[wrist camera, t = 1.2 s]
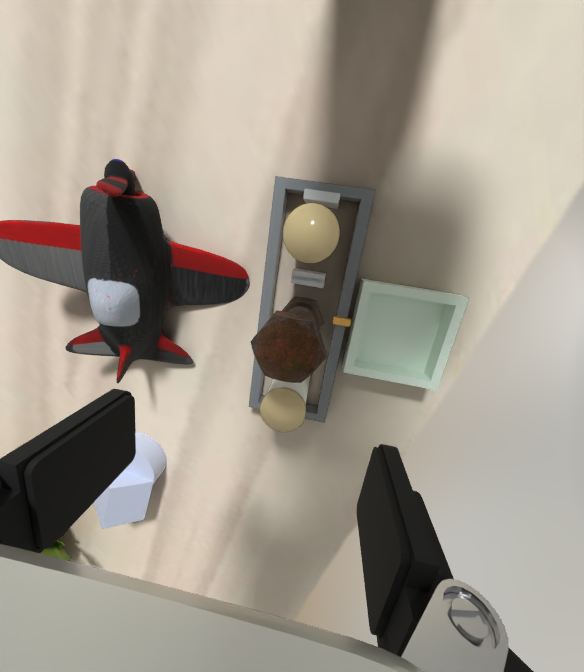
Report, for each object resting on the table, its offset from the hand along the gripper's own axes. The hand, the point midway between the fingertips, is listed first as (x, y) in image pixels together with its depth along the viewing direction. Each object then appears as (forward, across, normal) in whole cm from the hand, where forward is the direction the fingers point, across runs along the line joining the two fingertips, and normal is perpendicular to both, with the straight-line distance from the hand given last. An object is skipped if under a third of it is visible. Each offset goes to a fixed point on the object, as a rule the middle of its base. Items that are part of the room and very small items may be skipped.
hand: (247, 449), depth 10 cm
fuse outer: (+26, 0, +8) cm, 27 cm away
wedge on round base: (+26, +23, +30) cm, 46 cm away
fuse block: (+25, 0, 0) cm, 25 cm away
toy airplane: (+26, +21, -1) cm, 33 cm away
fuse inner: (+25, 0, -9) cm, 27 cm away
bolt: (+26, 0, 0) cm, 26 cm away
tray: (+25, -12, 0) cm, 28 cm away
